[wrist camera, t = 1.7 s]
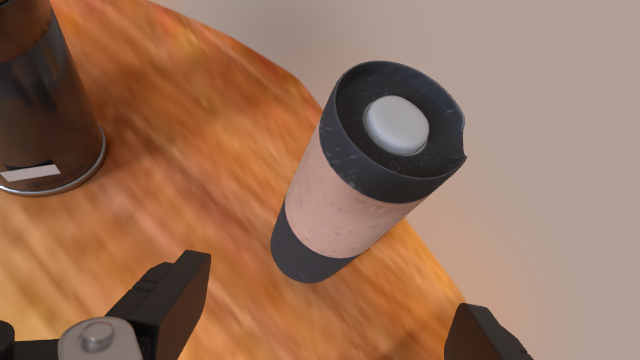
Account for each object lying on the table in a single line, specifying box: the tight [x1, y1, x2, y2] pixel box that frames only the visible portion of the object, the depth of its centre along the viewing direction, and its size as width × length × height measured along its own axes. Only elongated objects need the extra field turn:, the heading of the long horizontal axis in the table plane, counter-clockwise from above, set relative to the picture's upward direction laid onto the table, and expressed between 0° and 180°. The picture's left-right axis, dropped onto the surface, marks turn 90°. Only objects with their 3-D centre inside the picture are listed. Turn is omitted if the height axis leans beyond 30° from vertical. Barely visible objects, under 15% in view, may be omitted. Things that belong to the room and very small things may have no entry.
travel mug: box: [271, 61, 467, 283], centre depth 26 cm, size 8×8×20 cm
